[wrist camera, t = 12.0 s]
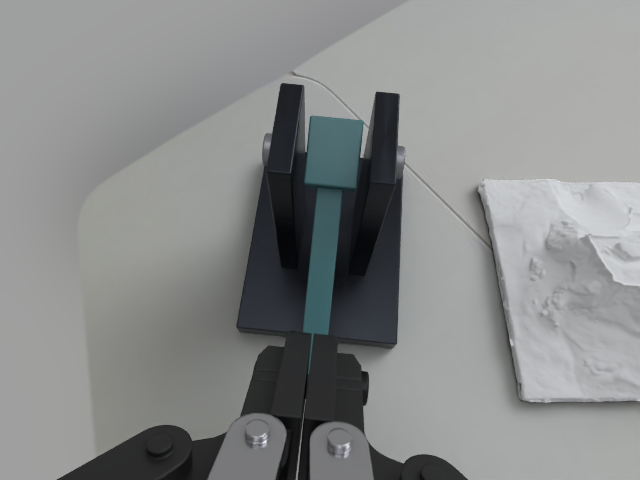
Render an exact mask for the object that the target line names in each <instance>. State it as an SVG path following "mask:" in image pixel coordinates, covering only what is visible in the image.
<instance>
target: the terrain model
mask: <svg viewBox="0 0 640 480" xmlns="http://www.w3.org/2000/svg"><path fill="white" fill-rule="evenodd" d="M502 179H503V178H502ZM523 179H526V178H523ZM478 191H479V193H480V195H481V199H482V203H483V205H484V209H485V214H486V215H485V216H486V221H487V222H488V227H489V228H490V229H489V236H490V238H491V239H492V244H493V245H492V246H493V250H494V255H495V256H494V258H495V261H496V262H495V263H496V269H497V275H498V278H499V280H498V281H499V287H500V291H501V297H502V301H503V308H504V315H505V318H506V323H507V324H506V325H507V327H508V333H509V338H510V339H509V340H510V346H511V349H512V350H511V351H512V357H513V361H514V367H515V373H516V378H517V381H518V382H517V383H518V384H517V385H518V391H519V392H518V394H519V395H518V396H519V397H518V398H520V399H521V401H522V400H526V401H528V402H529V401H530V402H545V403H550V402H562V401H563V402H564V401H565V402H575V401H577V402H594V401H595V403H596V402H601V401H602V402H604V401H612V402H613V401H619V402H620V401H628V400H631V401H633V400H635V401H640V183H633V182H632V183H631V182H594V183H576V182H575V183H569V182H559V181H558V180H555V179H551V178H550V179H539V180H536V179H535V180H520V181H519V180H499V181H498V180H489V179H488V180H486V179H483V180H482V181H481V182H480V186H479V187H478ZM479 198H480V197H479ZM487 219H488V220H487ZM521 386H522V387H521Z"/></svg>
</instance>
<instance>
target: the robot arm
mask: <svg viewBox="0 0 640 480" xmlns="http://www.w3.org/2000/svg"><path fill="white" fill-rule="evenodd" d="M311 337H312V333H305V332H296V331H288V333H287V338H286V342H285V347H277V346H268V347H267V348H266V349H265V350H263V351H262V352H261V353H260V354H259V355H258V359H257V362H256V365H255V370H254V372H253V375H252V380H251V382H250V385H249V389H248V392H247V396H246V399H245V402H244V406H243V409H242V412H241V416H240V417H239V418H238V419H236V420H235V421H234V422H233V423H232V424H231V426H230V427H229V429H228V431H227V432H226V433H224V434H222V435H220V436H217V437H214V438H209V439H202V440H196V441H192V439H191V437H190V435H189V434H188V433H187V432H186V431H185V430H184V429H182V428H180V427H177V426H172V425H161V426H155V427H152V428H149V429H147V430H145V431H143V432H141V433H139V434H138V435H136V436H134V437H132V438H130V439H129V440H127V441H125V442H123V443H121V444H120V445H118V446H116V447H114V448H113V449H111V450H109V451H107V452H105V453H104V454H102V455H100V456H98V457H96V458H95V459H93V460H91V461H89V462H88V463H86V464H84V465H82V466H81V467H79V468H77V469H75V470H73V471H72V472H70V473H68V474H66V475H64V476H63V477H61V478H59V479H57V480H295V479H296V471H297V462H298V454H299V446H300V438H301V430H302V422H303V431H302V441H301V452H300V462H299V472H298V480H468V479H467V478H466V477H464V476H463V475H462V474H461V473H460V472H459V471H458V470H457V469H456V468H455V467H453V466H452V465H451V464H450V463H448V462H447V461H445V460H443V459H441V458H439V457H436V456H432V455H425V454H422V455H416V456H413V457H410V458H409V459H408V460H406V461H405V463H404V464H403V463H400V462H398V461H395V460H393V459H390V458H388V457H386V456H384V455H382V454H380V453H379V452H378V451H376V450H375V449H374V448H373V447H372V446H371V445H370V443H369V442H368V440H367V438H366V436H365V433H364V417H363V395H362V373H361V365H360V364H359V362H358V361H357V359H356V357H355V356H354V355H353V354H343V353H337V340H338V336H334V335H325V334H316V333H314V337H313V345H312V353H311V362H310V370H309V378H308V369H309V358H310V348H311ZM307 379H308V387H307ZM306 388H307V395H306ZM305 397H306V403H305ZM304 405H305V412H304ZM303 413H304V420H303Z"/></svg>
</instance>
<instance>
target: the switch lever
mask: <svg viewBox="0 0 640 480" xmlns="http://www.w3.org/2000/svg"><path fill="white" fill-rule="evenodd" d="M363 123H364V122H363V121H362V120H353V119H342V118H332V117H321V116H311V117H310V124H309V134H308V144H307V154H306V164H305V174H304V184H305V185H306V187H307V188H312V189H317V194H316V204H315V214H314V224H313V234H312V244H311V254H310V264H309V274H308V284H307V294H306V304H305V314H304V324H303V332H305V333H312V337H311V348H310V358H309V369H308V378H309V370H310V362H311V353H312V345H313V337H314V333H316V334H325V335H328V331H329V321H330V311H331V302H332V292H333V282H334V272H335V262H336V253H337V243H338V233H339V223H340V213H341V204H342V194H343V192H354V191H355V189H356V188H357V182H358V172H359V162H360V152H361V143H362V133H363ZM256 362H257V361H256ZM255 365H256V363H255ZM254 370H255V366H254ZM253 372H254V371H253ZM361 373H362V395H363V406H365V405H366V403H367V399H368V389H369V375H368V372H365V371H361ZM307 387H308V379H307ZM306 395H307V388H306ZM305 399H306V397H305Z"/></svg>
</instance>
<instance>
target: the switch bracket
mask: <svg viewBox="0 0 640 480" xmlns="http://www.w3.org/2000/svg"><path fill="white" fill-rule="evenodd" d="M399 99H400V95H399V94H395V93H385V92H376V94H375V100H374V105H373V110H372V115H371V121H370V126H369V131H368V136H367V142H366V147H365V152H364V158H360V162H359V172H358V182H357V188H356V189H355V191H354V192H343V194H342V204H341V213H340V223H339V233H338V243H337V253H336V262H335V272H334V282H333V292H332V302H331V311H330V321H329V331H328V335H334V336H338V340H337V342H340V343H349V344H359V345H368V346H378V347H387V348H394V346H395V345H396V344H397V326H398V297H399V269H400V241H401V213H402V185H403V169H404V163H405V147H403V146H398V123H399ZM306 154H307V152H305V102H304V86H303V85H296V84H286V83H282V84H281V86H280V92H279V97H278V103H277V109H276V115H275V121H274V126H273V132H272V134H270V133H267V134H266V135H265V137H264V142H263V151H262V160H263V165H264V172H263V178H262V184H261V189H260V195H259V201H258V207H257V212H256V218H255V224H254V229H253V235H252V241H251V247H250V252H249V258H248V264H247V270H246V275H245V281H244V287H243V292H242V298H241V304H240V310H239V315H238V321H237V328H238V330H239V332H246V333H255V334H265V335H274V336H283V337H287V333H288V331H296V332H303V324H304V314H305V304H306V294H307V284H308V274H309V264H310V254H311V244H312V234H313V224H314V214H315V204H316V194H317V189H312V188H307V187H306V185H305V184H304V174H305V164H306Z"/></svg>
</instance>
